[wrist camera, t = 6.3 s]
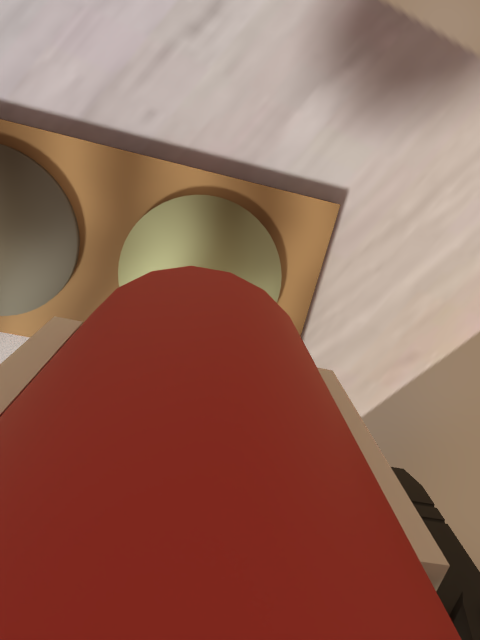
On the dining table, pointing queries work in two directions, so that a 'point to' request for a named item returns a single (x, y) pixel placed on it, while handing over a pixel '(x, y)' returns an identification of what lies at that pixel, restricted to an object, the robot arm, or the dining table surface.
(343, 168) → the dining table surface
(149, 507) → the beer can
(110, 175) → the seat board
